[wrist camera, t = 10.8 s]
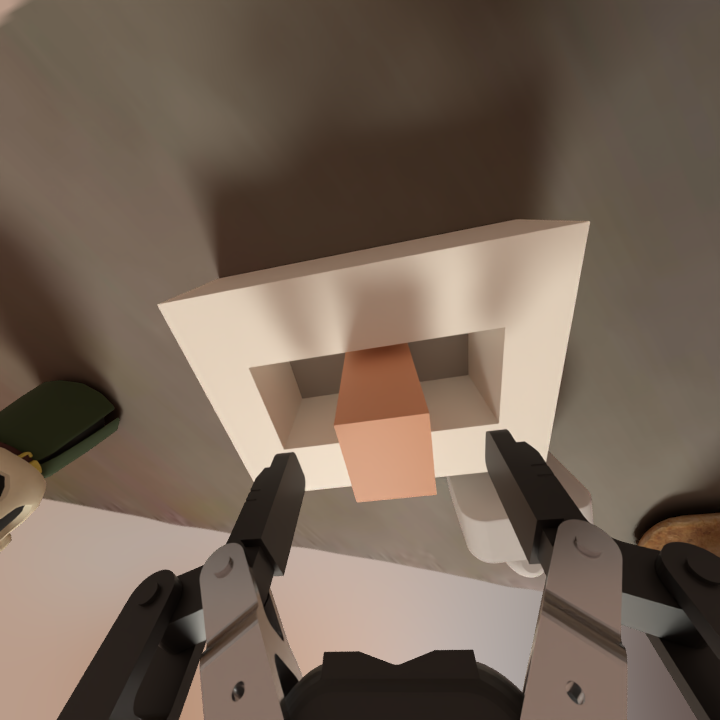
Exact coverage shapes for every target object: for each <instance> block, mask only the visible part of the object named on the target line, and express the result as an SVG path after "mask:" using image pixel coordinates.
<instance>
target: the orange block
mask: <svg viewBox="0 0 720 720" xmlns="http://www.w3.org/2000/svg"><path fill="white" fill-rule="evenodd" d="M334 428H335V432H336V435H337V438H338V442H339V445H340V448H341V451H342V455H343V458H344V461H345V465H346V468H347V471H348V475H349V478H350V481H351V485H352V488H353V491H354V495H355V498H356V501H357V502H366V501H377V500H387V499H397V498H408V497H418V496H428V495H437V494H436V483H435V471H434V460H433V448H432V437H431V426H430V414H429V410H428V407H427V404H426V401H425V397H424V394H423V391H422V388H421V385H420V381H419V378H418V375H417V372H416V369H415V365H414V362H413V359H412V356H411V353H410V349H409V346H408V343H402V344H396V345H389V346H383V347H377V348H370V349H364V350H358V351H351V352H345V359H344V365H343V371H342V377H341V383H340V390H339V396H338V402H337V408H336V414H335V421H334Z"/></svg>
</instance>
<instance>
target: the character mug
mask: <svg viewBox="0 0 720 720" xmlns="http://www.w3.org/2000/svg"><path fill="white" fill-rule="evenodd" d="M113 410H114V406H113V405H112V404H111V403H110V402H109V401H108V400H107V399H106V398H105V397H104V396H103V395H102V394H101V393H100V392H98V391H96V390H94V389H92V388H90V387H88V386H87V385H85V384H83V383H76V382H69V381H62V380H58V381H50V382H44V383H42V384H41V385H39V386H38V387H36V388H34V389H33V390H31V391H30V392H28V393H27V394H25V395H23V396H22V397H20V398H19V399H18V400H16V401H15V402H13V403H12V404H10V405H9V406H8V407H6V408H5V409H3V410H2V411H0V552H1V551H3V550H4V549H5V548H6V547H7V545H8V544H9V543H10V542H11V540H12V539H11V534H10V532H11V531H12V530H14V529H15V528H17V526H19V525H20V524H22V523H23V522H24V521H25V520H26V519H27V518H28V517H29V516H30V515H31V514H32V513H33V512H34V511H35V510H36V508H37V507H38V506H39V504H40V502H41V500H42V497H43V495H44V493H45V490H46V481H45V479H44V478H47V477H49V476H51V475H53V474H54V473H56V472H57V471H59V470H60V469H62V468H63V467H65V466H66V465H68V464H69V463H71V462H72V461H74V460H75V459H77V458H78V457H80V456H81V455H83V454H85V453H86V452H87V451H89V450H90V449H92V448H93V447H94V446H96V445H97V444H99V443H100V442H101V441H103V440H104V439H105V438H107V437H108V436H110V435H111V434H112V433H114V432H115V431H116V430H117V429H118V425H119V421H120V420H119V418H116V419H115V420H113V421H112V422H110V423H109V424H108V425H106V426H105V423H104V416H106V415H107V414H108V413H110V412H111V411H113Z"/></svg>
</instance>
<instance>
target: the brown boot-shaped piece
mask: <svg viewBox="0 0 720 720" xmlns="http://www.w3.org/2000/svg"><path fill="white" fill-rule="evenodd" d="M670 542H684V543H689V544H693V545H696V546H698V547H701V548H703V549H705V550H707V551H709V552H711V553H713V554H715V555H716V556H718V557H720V513H708V514H698V515H685V516H679V517H673V518H668V519H666V520H663V521H661V522H659V523H657V524H656V525H654V526H653V527H651V528H650V529H649V530H648V531H647V532H646V533H645V534H644V535H643V536H642V538H641V539H640V541H639V543H638V546H642V547H646V548H651V549H655V550H659V551H661V549H662V548H663V546H664V545H666V544H667V543H670Z"/></svg>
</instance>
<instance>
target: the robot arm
mask: <svg viewBox="0 0 720 720" xmlns="http://www.w3.org/2000/svg"><path fill="white" fill-rule="evenodd" d="M485 463H486V467H487V471H488V474H489V476H490V478H491V480H492V483H493V485H494V487H495V489H496V492H497V494H498V496H499V498H500V500H501V503H502V505H503V507H504V509H505V512H506V514H507V516H508V518H509V520H510V523H511V525H512V527H513V529H514V532H515V534H516V536H517V538H518V540H519V543H520V545H521V547H522V549H523V552H524V554H525V556H526V558H527V560H528V563H529V564H541V566H542V568H543V570H544V572H545V574H546V580H545V585H544V590H543V595H542V600H541V605H540V610H539V615H538V620H537V624H536V629H535V634H534V639H533V644H532V648H531V653H530V657H529V662H528V667H527V672H526V676H525V681H524V687H523V691H522V692H521V691H520V690H519V689H518V688H517V686H515V685H514V684H513V683H512V682H511V681H509V680H508V679H507V678H506V677H505V676H503V675H502V674H500V673H499V672H497V671H496V670H494V669H492V668H490V667H488V666H486V665H485V664H482V663H479V662H476V660H475V656H474V652H473V650H434V651H432V652H429V653H427V654H425V655H422V656H420V657H417V658H415V659H412V660H410V661H407V662H405V663H403V664H400V665H394V664H390V663H388V662H385V661H383V660H380V659H377V658H375V657H372V656H370V655H367V654H364V653H362V652H359V651H358V652H324V656H323V664H322V665H320V666H318V667H316V668H315V669H313V670H312V671H310V672H309V673H308V674H306V675H305V676H304V677H302V674H301V671H300V668H299V666H298V664H297V661H296V659H295V657H294V655H293V653H292V651H291V648H290V646H289V643H288V640H287V637H286V635H285V631H284V628H283V625H282V622H281V619H280V616H279V613H278V610H277V607H276V604H275V601H274V598H273V595H272V591H271V589H270V585H271V582H272V578H273V576H283V575H284V572H285V568H286V565H287V560H288V556H289V552H290V548H291V544H292V540H293V536H294V532H295V528H296V524H297V520H298V516H299V512H300V508H301V504H302V500H303V496H304V492H305V476H304V473H303V471H302V468H301V466H300V463H299V461H298V459H297V456H296V454H295V453H294V452H288V453H279V454H276V455H275V456H274V458H273V461H272V463H271V466H270V467H267V468H264V469H263V470H262V472H261V473H260V474H259V475H258V476H257V477H256V479H255V481H254V483H253V486H252V488H251V492H250V493H249V495H248V497H247V499H246V502H245V503H244V506H243V508H242V510H241V512H240V515H239V517H238V519H237V521H236V524H235V526H234V528H233V530H232V533H231V535H230V537H229V539H228V541H227V543H226V545H224V546H222V547H220V548H219V549H217V550H216V551H215V552H214V553H213V554H212V555H211V556H210V557H209V558H208V559H207V561H206V562H205V564H204V565H203V566H201V567H198V568H196V569H194V570H191V571H189V572H186V573H184V574H182V575H179V576H175V574H174V573H173V572H172V571H170V570H161V571H158V572H156V573H154V574H152V575H151V576H149V577H148V578H146V579H145V580H144V581H143V582H142V583H141V584H140V585H139V586H138V587H137V588H136V589H135V591H134V592H133V593H132V595H131V596H130V598H129V599H128V601H127V603H126V604H125V606H124V608H123V609H122V611H121V613H120V614H119V616H118V618H117V619H116V621H115V623H114V624H113V626H112V628H111V629H110V631H109V633H108V635H107V636H106V638H105V640H104V641H103V643H102V645H101V646H100V648H99V650H98V651H97V653H96V655H95V656H94V658H93V660H92V661H91V663H90V665H89V666H88V668H87V670H86V671H85V673H84V675H83V677H82V678H81V680H80V682H79V683H78V685H77V687H76V688H75V690H74V692H73V693H72V695H71V697H70V698H69V700H68V702H67V703H66V705H65V707H64V708H63V710H62V712H61V713H60V715H59V717H58V718H57V720H179V717H180V715H181V712H182V709H183V706H184V703H185V700H186V697H187V695H188V692H189V689H190V686H191V683H192V680H193V677H194V675H195V672H196V669H197V666H198V663H199V661H200V679H201V690H202V701H203V713H204V720H627V654H626V650H625V647H624V646H623V645H622V642H621V625H624V626H627V627H630V628H633V629H636V630H639V631H642V632H645V633H646V635H647V637H648V638H649V640H650V642H651V643H652V645H653V647H654V648H655V650H656V652H657V653H658V655H659V657H660V658H661V660H662V662H663V663H664V665H665V667H666V668H667V670H668V672H669V673H670V675H671V676H672V678H673V680H674V681H675V683H676V685H677V686H678V688H679V690H680V691H681V693H682V695H683V696H684V698H685V700H686V701H687V703H688V705H689V706H690V708H691V710H692V711H693V713H694V714H695V716H696V718H697V719H698V720H720V557H718V556H716V555H715V554H713V553H711V552H709V551H707V550H705V549H703V548H701V547H698V546H696V545H693V544H689V543H684V542H670V543H667V544H666V545H664V546H663V548H662V549H661V551H659V550H655V549H651V548H646V547H642V546H638V545H633V544H629V543H625V542H622V541H619V540H616V539H613V538H611V537H610V536H609V535H608V534H607V533H606V532H604V531H603V530H602V529H600V528H599V527H597V526H595V525H593V524H591V523H590V522H589V521H588V520H587V519H586V518H585V517H584V516H583V514H582V513H581V511H580V510H579V508H578V507H577V506H576V504H575V503H574V501H573V500H572V499H571V497H570V496H569V494H568V493H567V491H566V490H565V489H564V487H563V486H562V484H561V483H560V482H559V480H558V479H557V477H556V476H554V473H553V472H552V470H551V469H550V467H549V466H547V463H546V462H545V460H544V459H543V457H542V456H541V455H540V453H539V452H538V451H537V450H536V449H535V448H533V447H532V446H531V445H529V444H528V443H527V442H525V441H523V442H516V441H515V440H514V438H513V436H512V435H511V433H510V432H509V431H508V430H507V429H503V430H493V431H487V432H486V439H485ZM206 642H207V648H206V651H204V652H203V649H204V646H205V643H206ZM202 652H203V653H202Z"/></svg>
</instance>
